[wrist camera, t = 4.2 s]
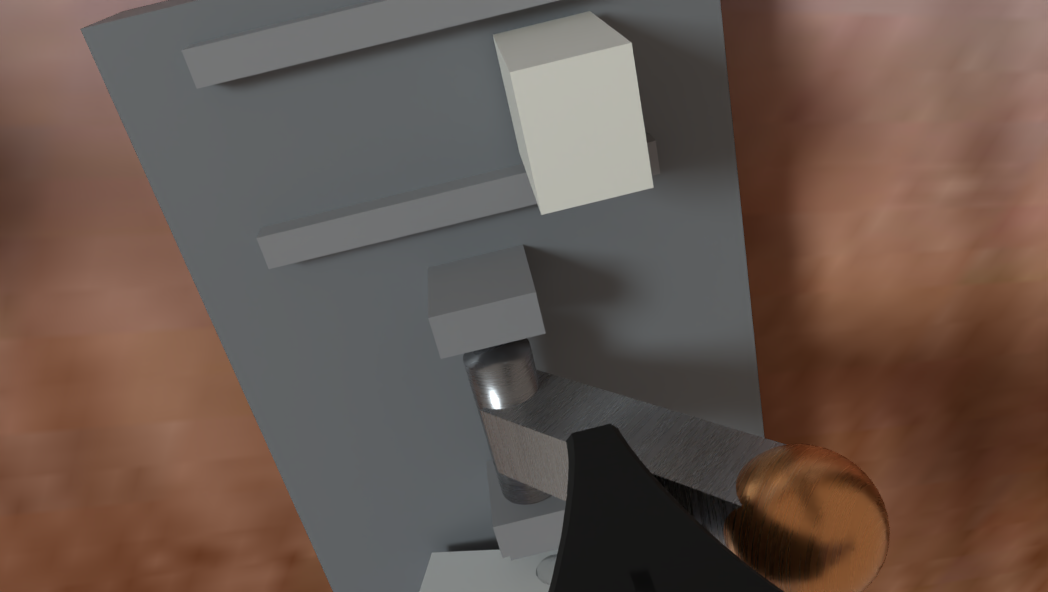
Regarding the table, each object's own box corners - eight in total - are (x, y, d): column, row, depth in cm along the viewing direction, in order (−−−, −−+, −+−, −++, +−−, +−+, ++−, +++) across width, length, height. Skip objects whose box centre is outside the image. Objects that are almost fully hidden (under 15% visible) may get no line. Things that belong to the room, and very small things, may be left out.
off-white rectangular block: (610, 130, 14) (653, 187, 11) (519, 153, 14) (541, 214, 11) (589, 10, 13) (631, 41, 11) (492, 35, 13) (509, 72, 11)
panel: (753, 557, 22) (816, 686, 19) (390, 645, 22) (383, 791, 19) (673, -124, 15) (752, -126, 11) (122, 11, 15) (24, 52, 11)
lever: (544, 440, 17) (914, 578, 12) (470, 508, 16) (853, 692, 11) (512, 314, 16) (915, 414, 11) (428, 377, 14) (845, 521, 9)
